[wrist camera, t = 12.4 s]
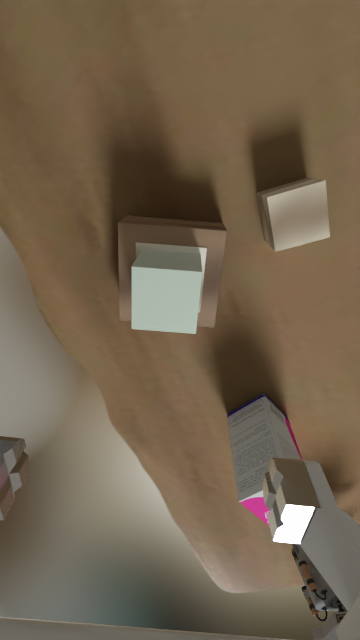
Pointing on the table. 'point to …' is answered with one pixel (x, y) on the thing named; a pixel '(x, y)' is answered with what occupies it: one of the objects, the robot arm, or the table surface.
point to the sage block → (166, 291)
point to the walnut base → (173, 238)
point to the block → (294, 213)
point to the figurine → (319, 596)
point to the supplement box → (258, 448)
